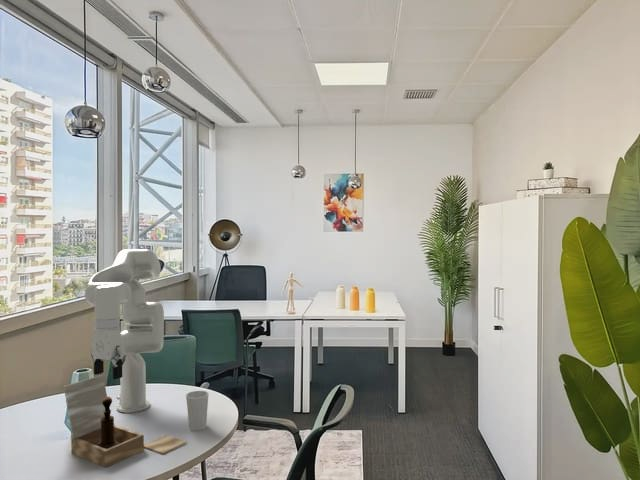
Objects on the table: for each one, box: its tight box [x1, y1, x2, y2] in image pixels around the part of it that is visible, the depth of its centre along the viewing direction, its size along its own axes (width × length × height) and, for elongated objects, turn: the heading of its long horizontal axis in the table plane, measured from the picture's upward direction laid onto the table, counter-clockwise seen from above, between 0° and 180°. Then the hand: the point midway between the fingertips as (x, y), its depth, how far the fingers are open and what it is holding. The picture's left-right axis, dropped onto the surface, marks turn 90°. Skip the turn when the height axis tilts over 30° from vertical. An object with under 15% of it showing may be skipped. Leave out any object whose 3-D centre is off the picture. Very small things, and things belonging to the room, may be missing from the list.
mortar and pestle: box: [97, 396, 119, 449], centre depth 167 cm, size 7×6×18 cm
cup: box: [185, 390, 209, 431], centre depth 187 cm, size 8×8×12 cm
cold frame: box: [63, 374, 145, 468], centre depth 168 cm, size 22×14×22 cm, turn 58°
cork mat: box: [144, 434, 187, 455], centre depth 172 cm, size 10×10×1 cm
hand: (108, 375), depth 167 cm, fingers open, 9 cm apart
